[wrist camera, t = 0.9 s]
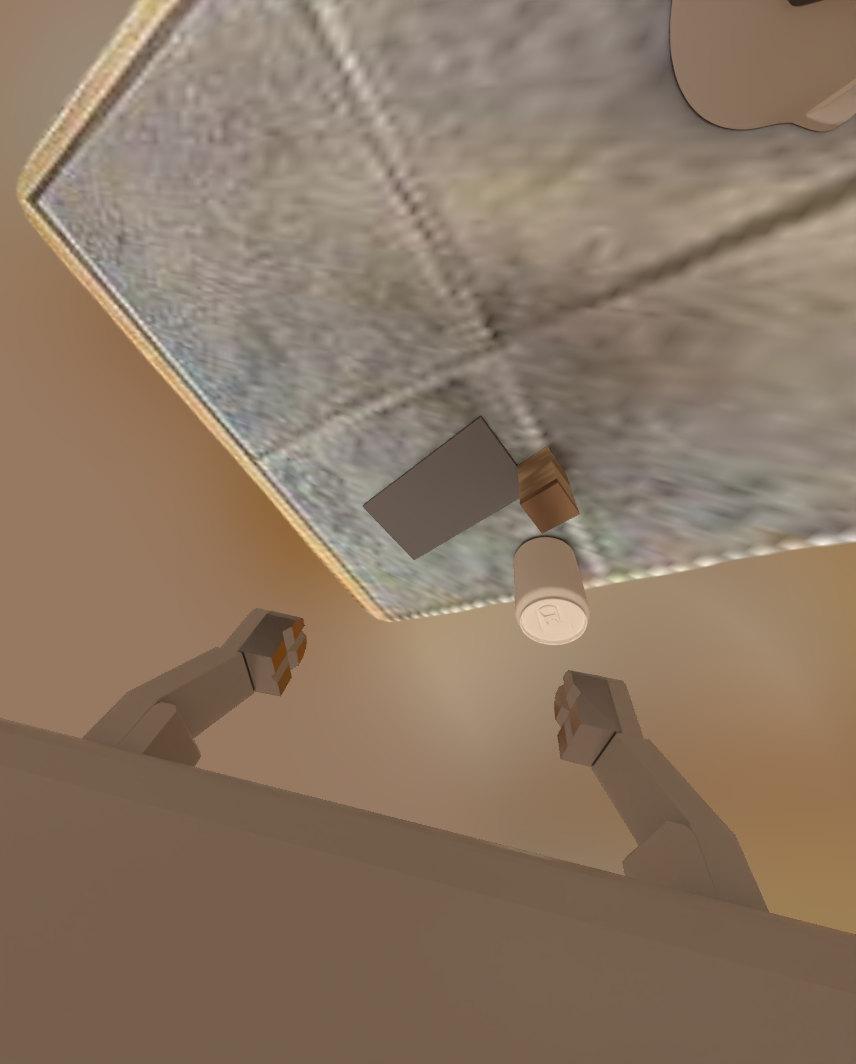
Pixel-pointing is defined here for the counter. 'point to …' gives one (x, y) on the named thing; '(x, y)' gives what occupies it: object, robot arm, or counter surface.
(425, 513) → the rubber mat
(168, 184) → the counter surface
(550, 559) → the beverage can
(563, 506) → the maple block
